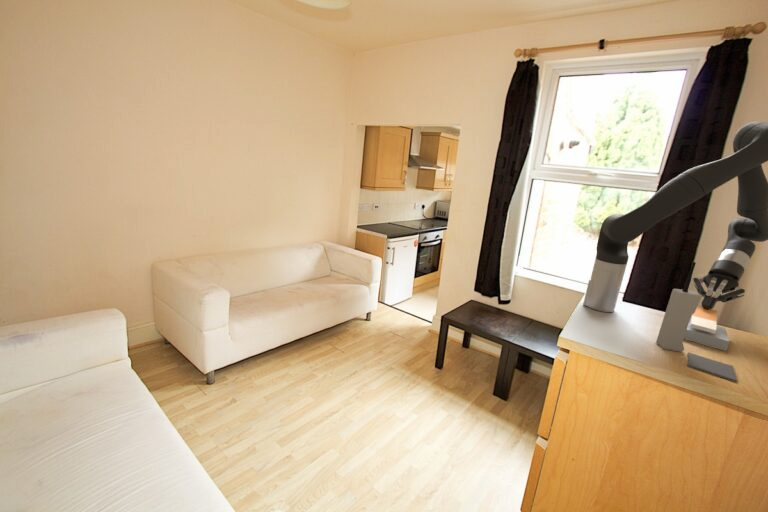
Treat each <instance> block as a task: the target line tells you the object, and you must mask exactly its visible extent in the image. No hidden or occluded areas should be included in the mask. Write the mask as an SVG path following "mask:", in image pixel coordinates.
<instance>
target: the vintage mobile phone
mask: <svg viewBox="0 0 768 512" xmlns="http://www.w3.org/2000/svg"><path fill="white" fill-rule="evenodd" d="M696 264H697V263H696V262H695V261H692V263H691V266H690V270H689V273H688V276H687V279H686V281H685V283H684V287H683V288H681V289H680V288H673V289H672V291H671V293H670V297H669V300H668V304H667V305H666V310H665V313H664V316H663V319H662V322H661V326H660V328H659V332H658V335H657V337H656V338H657V339H656V344H657V345H659V347H660V348H662V350H667V351H674V352H679V353H682V352H685V351H684V350H685V346H684V342H683V341H684V340H685V339H684V336H685V333H686V330H687V327H688V324H689V321H690V319H691V315H692V314H693V313H694V312H695V311H696V308H697V306H699V304H700V302H701V299H702V298H703V297H702V295H700V294H699V293H698V292H696V291H694V290H689V287H690V284H691V281H692V276H693V273H694V269H695V266H696Z"/></svg>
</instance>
